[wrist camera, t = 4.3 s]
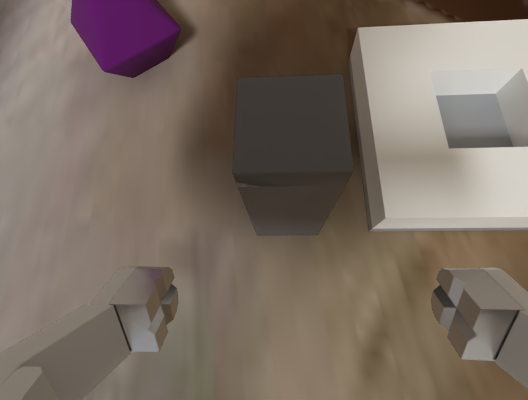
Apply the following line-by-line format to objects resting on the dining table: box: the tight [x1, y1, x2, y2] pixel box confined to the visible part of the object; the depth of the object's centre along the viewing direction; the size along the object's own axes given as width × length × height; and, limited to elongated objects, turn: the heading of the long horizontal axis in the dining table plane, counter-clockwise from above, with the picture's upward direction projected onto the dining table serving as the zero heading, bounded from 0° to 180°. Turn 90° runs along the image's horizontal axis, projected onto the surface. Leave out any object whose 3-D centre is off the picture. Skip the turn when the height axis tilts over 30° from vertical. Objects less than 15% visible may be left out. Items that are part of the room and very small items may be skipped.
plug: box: [233, 74, 354, 235], centre depth 16 cm, size 4×4×11 cm
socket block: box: [348, 19, 528, 231], centre depth 21 cm, size 16×16×4 cm
